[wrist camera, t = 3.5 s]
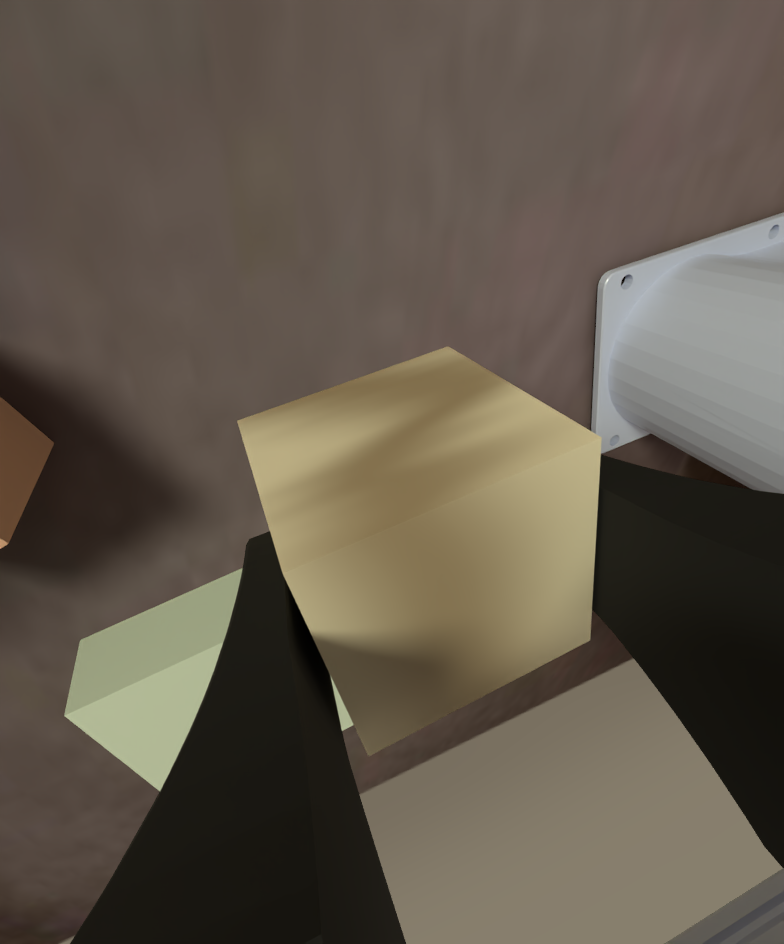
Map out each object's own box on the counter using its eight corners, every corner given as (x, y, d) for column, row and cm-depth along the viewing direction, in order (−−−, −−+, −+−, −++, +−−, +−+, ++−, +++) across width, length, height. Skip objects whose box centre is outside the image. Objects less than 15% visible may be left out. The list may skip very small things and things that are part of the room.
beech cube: (447, 346, 11) (601, 437, 7) (470, 510, 14) (590, 640, 10) (237, 420, 10) (282, 573, 6) (306, 581, 13) (368, 756, 9)
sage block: (281, 545, 20) (299, 606, 17) (341, 657, 24) (362, 720, 22) (81, 633, 18) (64, 715, 16) (184, 733, 23) (185, 811, 20)
